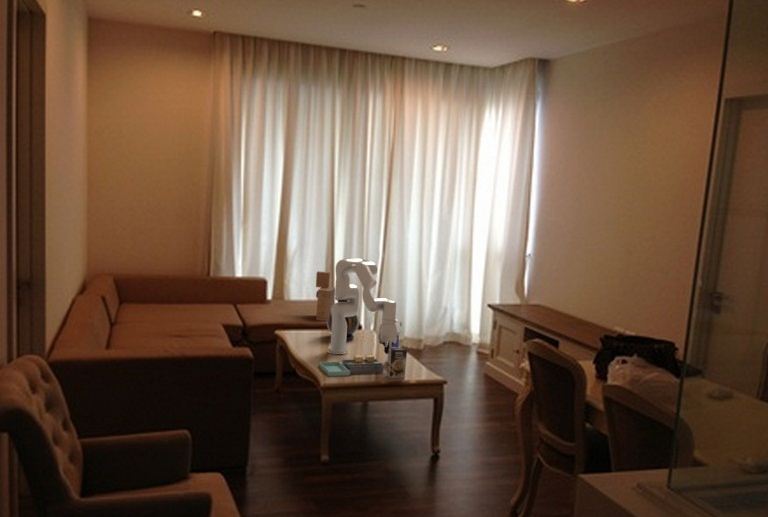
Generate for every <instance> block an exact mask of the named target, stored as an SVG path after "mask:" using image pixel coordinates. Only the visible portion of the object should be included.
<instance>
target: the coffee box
mask: <svg viewBox="0 0 768 517" xmlns="http://www.w3.org/2000/svg"><path fill="white" fill-rule="evenodd" d="M407 355H408V350H407V349H406V348H405V347H399V348H389V352H388V363H386V364H387V365H386V376H387V378H389V379H405V378H406V367H407V366H406V365H407Z"/></svg>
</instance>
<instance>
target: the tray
mask: <svg viewBox="0 0 768 517" xmlns="http://www.w3.org/2000/svg"><path fill="white" fill-rule="evenodd" d="M318 367H319V368H320V369H321V370H322V372H324V373H325V375H326V376H328V377H347V376H348V377H349V376H351V374H350V371H349V370H348V369H347V368H346V367H345V366H344V365H342V362H340V361H318Z"/></svg>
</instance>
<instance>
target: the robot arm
mask: <svg viewBox="0 0 768 517" xmlns="http://www.w3.org/2000/svg"><path fill="white" fill-rule="evenodd" d="M350 273H351V274H353V273H355V274H356V276H357V278H358V280H359V282H360V283H361V286H362V288H363V290H362V300H363V303H364V305H365V307H366V308H367V310H368V311H369V312H372V313H376V312H382V320H381V321H382V322H381V323H380V324H379V330H378V336H377V337H378V343H379V344H380V345H383V347H384V349H383V351H384V354H386V355H387V354H388V352H389V348H390V347H391V345H392V344H394V343H396V340H397V332H398V329H397V324H396V323H398V319H396V316H397V315H396V314H397V302H396V301H395V300H390V299H388V298H385V297H382V298H378V297H377V298H374V297H373V295H372V293H371V290H372V289H373V288H375V287H376V285H377V280H376V279H375V275H376V274H377V273H378V266H377V264H376V263H375V262H373V261H370V260H367V259H363V258H343V259H340V260H339V261H338V262H337V263H336V265H335V286H334V287H335V294H334V298H335V297H336V299H337V300H347V302H338V301H337V300H336V299H335V300H336V301H337V302H336V303H335V302H334V305H333V306H332V308H331V314H332V332H330V334H331V337H330V348H329V349H327V352H328V354H331V353H332V354H331V355H337V354H343V355H347V354H348V353H349V350H348V349H347V347H346V346H347V340H346V337H347V322H346V320H345V317H352V316H355V315H356V314H358V312H359V300H360V291H359V288H358V286H357V285H356V284H352V283H351V284H350V281H351V279H350V278H351V277H350V275H349V274H350Z"/></svg>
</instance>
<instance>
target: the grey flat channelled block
mask: <svg viewBox="0 0 768 517" xmlns="http://www.w3.org/2000/svg"><path fill="white" fill-rule="evenodd" d="M341 364H342V365H344V366H345V367H346V368H347V369H348V370H349V371H350V375H356V373H361V374H375V373H374V372H383V373H384V365H383V362H379V361H378V358H374V363H366V362H365V358H363V363H354V358H352V359H351V358H350V359H343V360H342V361H341Z"/></svg>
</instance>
